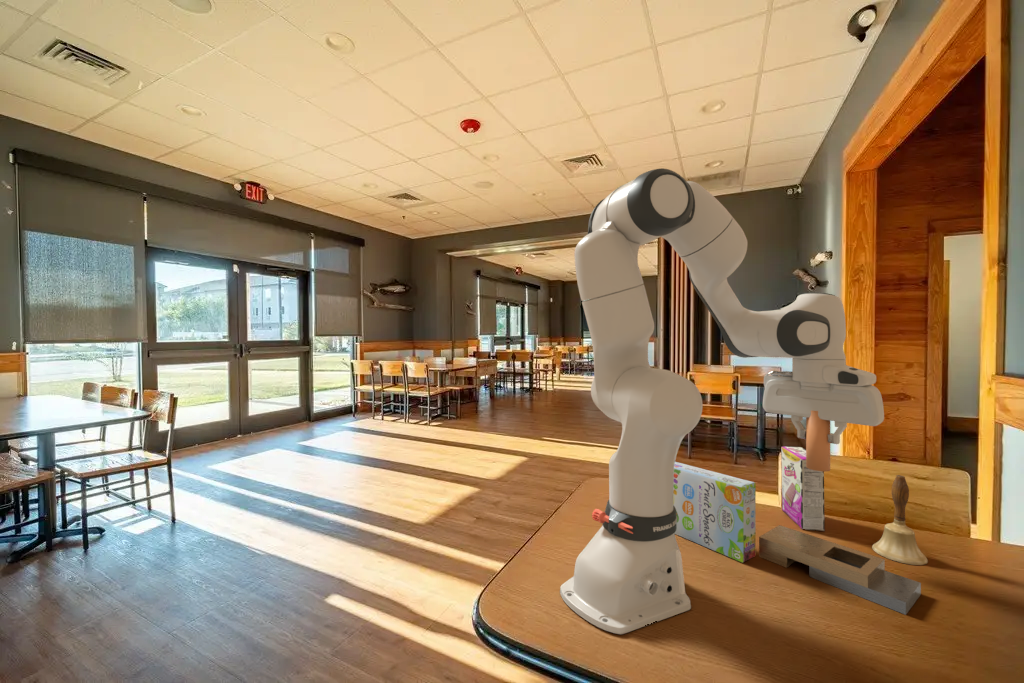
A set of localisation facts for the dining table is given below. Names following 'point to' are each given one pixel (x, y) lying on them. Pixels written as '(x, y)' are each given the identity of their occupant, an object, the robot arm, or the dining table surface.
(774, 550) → the chain end upper
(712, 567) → the dining table surface
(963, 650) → the dining table surface
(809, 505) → the candy bar box
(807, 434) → the pin
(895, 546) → the hand bell
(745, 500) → the snack box
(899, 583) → the chain end lower
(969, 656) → the dining table surface
